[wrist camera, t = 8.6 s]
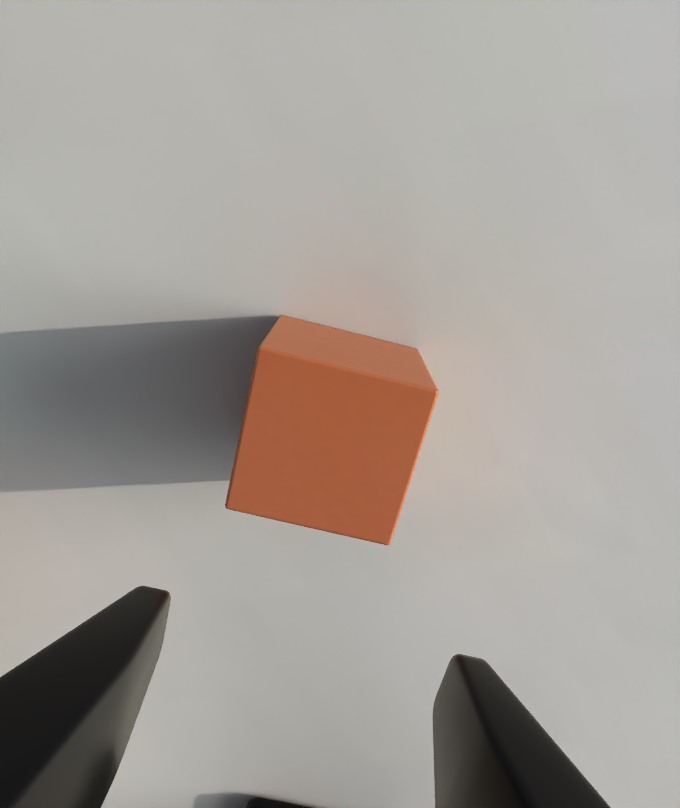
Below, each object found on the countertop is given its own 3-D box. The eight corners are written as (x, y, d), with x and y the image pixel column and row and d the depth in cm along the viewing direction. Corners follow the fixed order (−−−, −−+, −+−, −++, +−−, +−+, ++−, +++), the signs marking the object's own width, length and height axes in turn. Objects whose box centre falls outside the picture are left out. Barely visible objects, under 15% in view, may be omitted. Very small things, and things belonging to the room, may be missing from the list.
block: (418, 348, 17) (440, 390, 13) (381, 473, 19) (389, 547, 15) (279, 313, 17) (257, 346, 13) (252, 443, 19) (224, 509, 14)
